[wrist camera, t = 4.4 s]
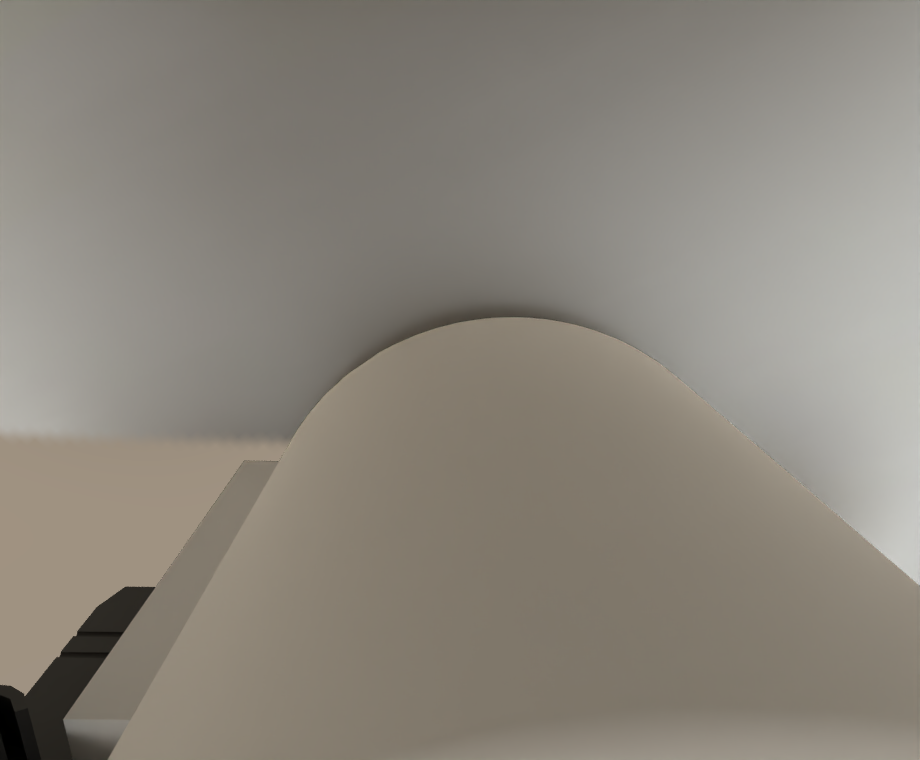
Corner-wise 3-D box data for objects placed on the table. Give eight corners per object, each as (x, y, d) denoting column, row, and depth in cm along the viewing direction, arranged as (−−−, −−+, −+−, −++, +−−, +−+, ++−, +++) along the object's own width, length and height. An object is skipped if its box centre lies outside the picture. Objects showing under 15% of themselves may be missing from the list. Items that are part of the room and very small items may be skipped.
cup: (468, 735, 16) (502, 1525, 7) (192, 489, 13) (-403, 1235, 4) (788, 533, 14) (1464, 1236, 5) (542, 199, 12) (995, 309, 2)
